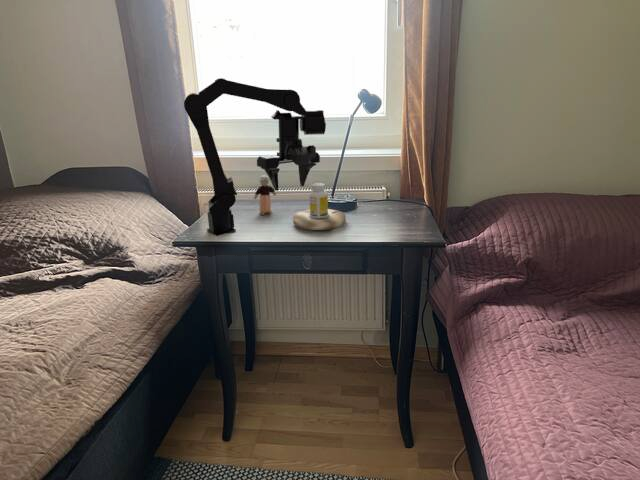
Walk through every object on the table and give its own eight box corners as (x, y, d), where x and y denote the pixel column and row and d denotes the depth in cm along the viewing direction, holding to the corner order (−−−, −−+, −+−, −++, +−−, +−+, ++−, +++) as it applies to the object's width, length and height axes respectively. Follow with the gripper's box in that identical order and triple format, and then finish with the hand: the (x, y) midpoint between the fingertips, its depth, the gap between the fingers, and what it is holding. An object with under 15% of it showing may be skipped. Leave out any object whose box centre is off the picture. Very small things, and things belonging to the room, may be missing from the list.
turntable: (314, 236, 130) (314, 228, 129) (283, 223, 142) (282, 215, 141) (356, 224, 139) (356, 216, 138) (323, 212, 151) (323, 205, 150)
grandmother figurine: (260, 216, 149) (257, 178, 145) (253, 213, 152) (250, 176, 148) (279, 211, 154) (277, 174, 149) (273, 209, 157) (270, 172, 152)
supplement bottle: (328, 213, 142) (328, 182, 139) (327, 218, 137) (326, 186, 134) (311, 213, 143) (310, 182, 139) (309, 218, 138) (308, 186, 134)
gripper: (276, 141, 120) (277, 198, 126) (331, 135, 131) (330, 189, 136) (254, 136, 129) (257, 190, 134) (308, 131, 139) (308, 182, 145)
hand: (289, 188), depth 137 cm, fingers open, 9 cm apart
